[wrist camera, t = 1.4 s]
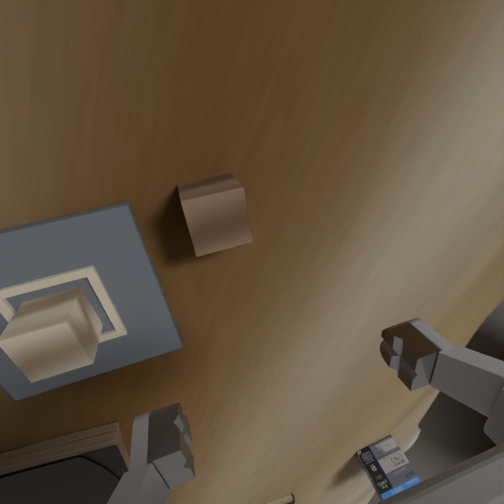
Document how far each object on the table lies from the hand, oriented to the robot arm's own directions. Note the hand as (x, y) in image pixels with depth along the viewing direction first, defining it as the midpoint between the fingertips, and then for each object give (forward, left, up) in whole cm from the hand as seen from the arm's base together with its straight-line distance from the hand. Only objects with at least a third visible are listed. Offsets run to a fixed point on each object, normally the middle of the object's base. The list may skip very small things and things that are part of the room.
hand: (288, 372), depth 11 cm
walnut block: (0, 0, -20) cm, 20 cm away
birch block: (+7, -16, -19) cm, 26 cm away
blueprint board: (+7, -16, -20) cm, 26 cm away
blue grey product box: (+65, +24, -20) cm, 72 cm away
